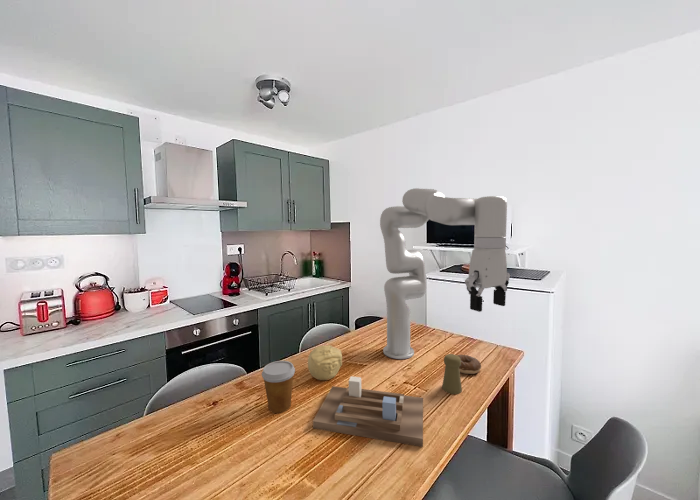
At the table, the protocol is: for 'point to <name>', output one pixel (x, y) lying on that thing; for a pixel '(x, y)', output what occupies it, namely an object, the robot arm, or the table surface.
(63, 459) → the table surface
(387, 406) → the slate-blue tab
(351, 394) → the cream tab
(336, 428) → the switch board
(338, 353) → the sculpture
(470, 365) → the donut
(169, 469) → the table surface
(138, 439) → the table surface
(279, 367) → the disposable coffee cup
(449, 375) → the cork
